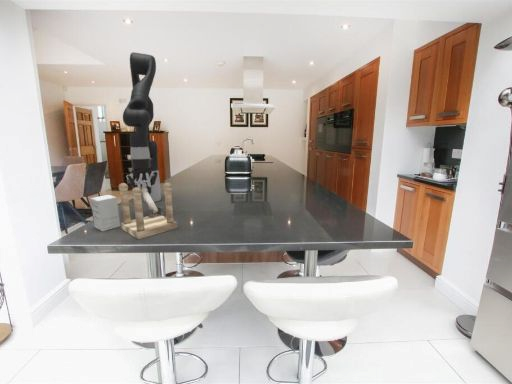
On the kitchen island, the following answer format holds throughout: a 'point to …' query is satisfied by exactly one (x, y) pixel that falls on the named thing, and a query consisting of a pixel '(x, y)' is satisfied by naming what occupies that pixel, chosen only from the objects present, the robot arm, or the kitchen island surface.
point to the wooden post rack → (152, 222)
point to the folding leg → (149, 199)
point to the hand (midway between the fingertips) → (144, 195)
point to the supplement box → (105, 212)
